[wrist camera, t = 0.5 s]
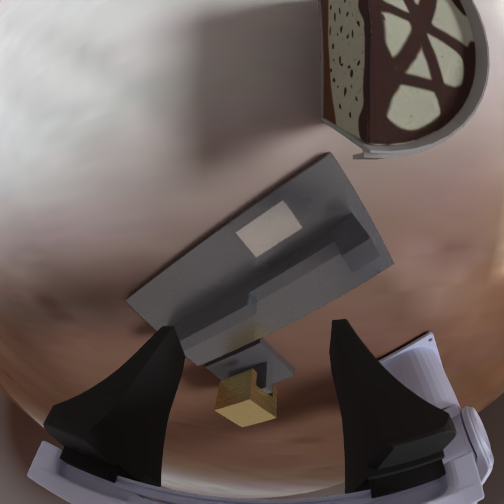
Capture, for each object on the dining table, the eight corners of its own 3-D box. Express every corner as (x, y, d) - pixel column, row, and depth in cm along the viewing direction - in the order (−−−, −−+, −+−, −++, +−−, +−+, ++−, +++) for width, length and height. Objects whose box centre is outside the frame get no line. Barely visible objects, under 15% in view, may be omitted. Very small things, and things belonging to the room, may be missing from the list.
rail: (390, 258, 21) (414, 294, 16) (199, 360, 28) (189, 398, 23) (329, 151, 17) (348, 163, 13) (128, 295, 24) (105, 330, 20)
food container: (401, 151, 17) (492, 189, 8) (319, 141, 17) (369, 168, 8) (398, 1, 11) (471, -48, 2) (317, -16, 12) (347, -96, 3)
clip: (252, 368, 24) (249, 399, 21) (276, 388, 25) (276, 417, 22) (219, 381, 25) (214, 410, 22) (245, 399, 26) (242, 427, 23)
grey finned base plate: (294, 369, 27) (295, 400, 24) (241, 389, 30) (238, 418, 26) (260, 336, 25) (258, 369, 22) (206, 361, 28) (199, 391, 24)
